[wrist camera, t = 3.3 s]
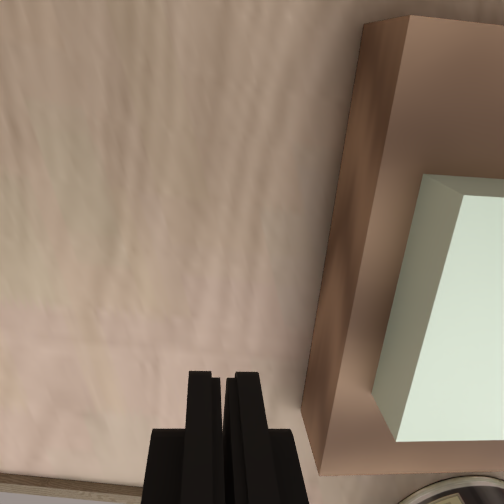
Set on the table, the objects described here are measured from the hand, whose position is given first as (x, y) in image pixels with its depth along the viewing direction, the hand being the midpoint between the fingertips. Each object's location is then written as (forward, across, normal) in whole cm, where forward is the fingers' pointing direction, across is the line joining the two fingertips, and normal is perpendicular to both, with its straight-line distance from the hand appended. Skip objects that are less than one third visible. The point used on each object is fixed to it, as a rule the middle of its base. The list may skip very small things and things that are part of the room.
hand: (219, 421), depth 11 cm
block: (+6, -10, -1) cm, 11 cm away
